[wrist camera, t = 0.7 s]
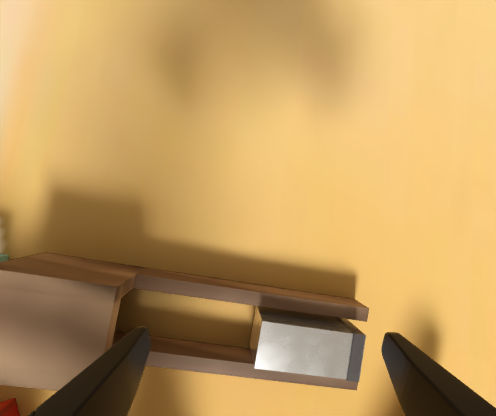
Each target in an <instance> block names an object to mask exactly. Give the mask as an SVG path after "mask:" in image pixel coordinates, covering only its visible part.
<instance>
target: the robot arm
mask: <svg viewBox="0 0 496 416" xmlns="http://www.w3.org/2000/svg"><path fill="white" fill-rule="evenodd" d="M150 348H151V340H150V335H149V330H148V328H147V327H136V328H134V329H133V330H132V331H130V332H129V333H128V334H127V335H126V336H124V337H123V338H122V339H121V340H120V341H118V342H117V343H116V344H115V345H113V346H112V347H111V348H110V349H109V350H107V351H106V352H105V353H104V354H102V355H101V356H100V357H99V358H98V359H96V360H95V361H94V362H93V363H91V364H90V365H89V366H88V367H87V368H85V369H84V370H83V371H82V372H80V373H79V374H78V375H77V376H76V377H74V378H73V379H72V380H71V381H69V382H68V383H67V384H66V385H65V386H63V387H62V388H61V389H60V390H58V391H57V392H56V393H55V394H54V395H52V396H51V397H50V398H49V399H47V400H46V401H45V402H44V403H43V404H41V405H40V406H39V407H38V408H37V409H36V411H33V412H31V413H30V414H29V415H28V416H127V414H128V412H129V409H130V407H131V405H132V402H133V400H134V397H135V395H136V392H137V389H138V386H139V383H140V380H141V377H142V374H143V370H144V367H145V364H146V361H147V358H148V355H149V351H150ZM382 356H383V359H384V361H385V364H386V367H387V370H388V372H389V375H390V378H391V381H392V384H393V386H394V389H395V392H396V395H397V397H398V400H399V402H400V405H401V407H402V409H403V411H404V414H405V416H496V408H495V407H494V406H492V405H491V404H490V403H488V402H487V401H486V400H485V399H483V398H482V397H481V396H479V395H478V394H477V393H475V392H474V391H473V390H472V389H470V388H469V387H468V386H466V385H465V384H464V383H463V382H461V381H460V380H459V379H457V378H456V377H455V376H453V375H452V374H451V373H450V372H448V371H447V370H446V369H444V368H443V367H442V366H441V365H439V364H438V363H437V362H435V361H434V360H433V359H431V358H430V357H429V356H428V355H426V354H425V353H424V352H422V351H421V350H420V349H419V348H417V347H416V346H415V345H413V344H412V343H411V342H409V341H408V340H407V339H406V338H404V337H403V336H402V335H400V334H399V333H396V332H387V333H386V334H385V336H384V340H383V344H382Z"/></svg>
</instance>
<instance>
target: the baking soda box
mask: <svg viewBox="0 0 496 416" xmlns="http://www.w3.org/2000/svg"><path fill="white" fill-rule="evenodd" d="M0 416H20V415H19V411H18V407H17V403H16V399H15V398H13V399H10V400H7V401H4V402H0Z"/></svg>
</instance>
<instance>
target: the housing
mask: <svg viewBox="0 0 496 416" xmlns="http://www.w3.org/2000/svg"><path fill="white" fill-rule="evenodd" d="M133 288H135V289H142V290H149V291H156V292H163V293H170V294H177V295H184V296H191V297H198V298H205V299H212V300H219V301H226V302H233V303H240V304H247V305H254V306H261V307H268V308H275V309H282V310H289V311H296V312H303V313H310V314H317V315H324V316H331V317H338V318H345V319H352V320H359V321H366V322H367V318H368V311H369V308H367V307H366V306H364V305H363V304H361V303H360V302H358V301H357V300H355V299H349V298H342V297H336V296H329V295H322V294H316V293H309V292H303V291H296V290H289V289H283V288H276V287H269V286H263V285H256V284H250V283H243V282H236V281H230V280H223V279H216V278H210V277H203V276H196V275H190V274H183V273H177V272H170V271H163V270H157V269H150V268H143V267H137V266H130V265H123V264H117V263H110V262H104V261H97V260H90V259H84V258H77V257H70V256H64V255H57V254H51V253H41V254H36V255H32V256H27V257H22V258H17V259H13V260H8V261H3V262H0V385H6V386H16V387H25V388H35V389H44V390H54V391H58V390H60V389H61V388H62V387H63V386H65V385H66V384H67V383H68V382H69V381H71V380H72V379H73V378H74V377H76V376H77V375H78V374H79V373H80V372H82V371H83V370H84V369H85V368H87V367H88V366H89V365H90V364H91V363H93V362H94V361H95V360H96V359H98V358H99V357H100V356H101V355H102V354H104V353H105V352H106V351H107V350H109V349H110V348H111V347H112V346H113V345H115V344H116V343H117V342H118V341H120V340H121V339H122V338H123V337H124V336H126V335H127V334H128V333H122V332H115V327H116V321H117V316H118V311H119V306H120V301H121V298H122V297H123V296H124V295H125V294H127V293H128V292H129V291H130V290H132V289H133ZM150 340H151V348H150V351H149V355H148V358H147V361H146V364H145V366H152V367H161V368H169V369H178V370H187V371H195V372H204V373H212V374H221V375H230V376H238V377H247V378H255V379H264V380H273V381H281V382H290V383H298V384H307V385H316V386H324V387H333V388H341V389H350V390H357V385H358V382H352V381H347V380H346V379H338V378H330V377H322V376H313V375H305V374H297V373H288V372H280V371H272V370H263V369H255V368H254V364H253V359H252V353H251V349H248V348H240V347H232V346H224V345H216V344H208V343H201V342H193V341H185V340H177V339H169V338H161V337H153V336H150Z"/></svg>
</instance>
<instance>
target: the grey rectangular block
mask: <svg viewBox="0 0 496 416" xmlns="http://www.w3.org/2000/svg"><path fill="white" fill-rule="evenodd" d="M365 338H366V335H365V334H364V333H362V332H361V331H360V330H359V329H358V328H357V327H355V326H354V325H353V324H352V323H351V322H350V321H348V320H347V319H345V318H338V317H331V316H324V315H317V314H310V313H303V312H296V311H289V310H282V309H275V308H268V307H261V306H256V308H255V314H254V320H253V326H252V332H251V337H250V348H251V353H252V359H253V364H254V368H255V369H263V370H272V371H280V372H288V373H297V374H305V375H313V376H322V377H330V378H338V379H346V380H347V381H352V382H359V378H360V372H361V365H362V358H363V351H364V345H365Z"/></svg>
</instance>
